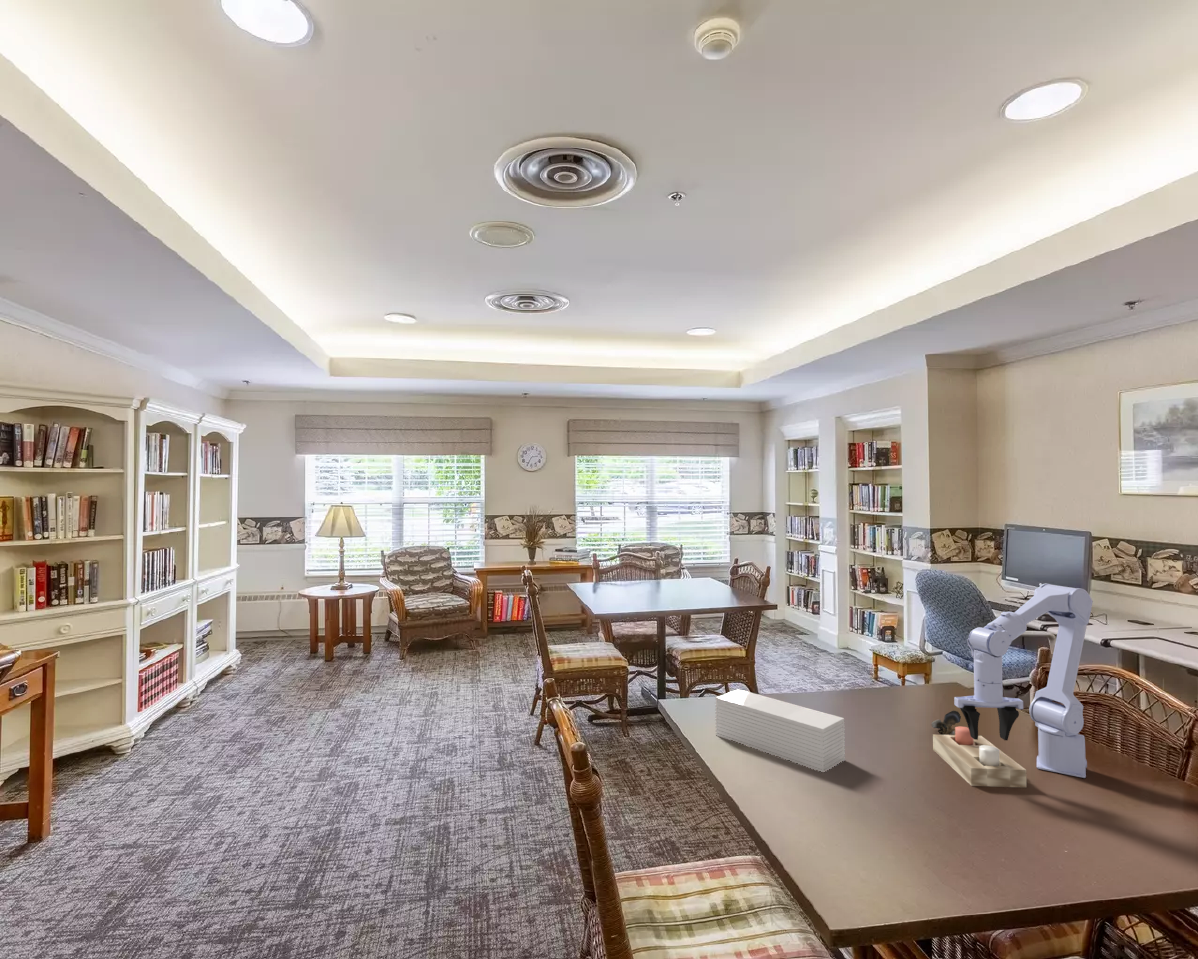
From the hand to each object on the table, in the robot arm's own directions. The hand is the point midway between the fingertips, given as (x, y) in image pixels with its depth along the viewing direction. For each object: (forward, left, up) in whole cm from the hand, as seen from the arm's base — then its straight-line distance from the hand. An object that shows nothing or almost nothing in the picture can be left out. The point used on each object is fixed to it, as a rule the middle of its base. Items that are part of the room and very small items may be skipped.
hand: (988, 738), depth 149 cm
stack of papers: (+47, +10, -10) cm, 49 cm away
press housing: (+3, -5, -9) cm, 11 cm away
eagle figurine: (+11, -24, -10) cm, 28 cm away
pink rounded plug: (+6, -10, -7) cm, 14 cm away
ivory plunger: (0, 0, -7) cm, 7 cm away
